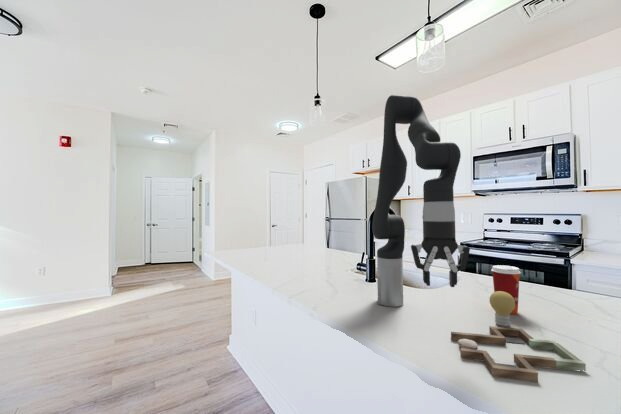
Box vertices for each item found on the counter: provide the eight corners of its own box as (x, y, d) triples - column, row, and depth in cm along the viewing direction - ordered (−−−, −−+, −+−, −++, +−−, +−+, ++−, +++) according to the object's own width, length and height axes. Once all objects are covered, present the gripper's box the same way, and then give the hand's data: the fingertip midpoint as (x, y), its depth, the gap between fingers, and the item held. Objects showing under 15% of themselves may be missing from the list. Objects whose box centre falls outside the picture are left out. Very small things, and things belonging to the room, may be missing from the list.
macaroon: (455, 348, 69) (454, 338, 69) (466, 343, 71) (466, 333, 71) (472, 356, 65) (472, 345, 65) (483, 350, 68) (483, 340, 68)
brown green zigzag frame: (470, 373, 58) (470, 365, 58) (445, 328, 80) (445, 322, 80) (609, 391, 52) (609, 381, 52) (541, 337, 74) (541, 330, 74)
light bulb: (517, 331, 78) (516, 296, 78) (490, 326, 81) (489, 292, 81) (514, 323, 83) (513, 290, 83) (489, 319, 86) (488, 287, 86)
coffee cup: (527, 316, 88) (526, 270, 88) (498, 315, 90) (497, 269, 90) (513, 307, 96) (512, 265, 96) (487, 306, 98) (486, 264, 98)
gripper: (410, 220, 68) (411, 288, 68) (474, 219, 65) (476, 291, 65) (407, 219, 76) (408, 280, 75) (465, 219, 72) (466, 283, 72)
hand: (439, 285), depth 70 cm, fingers open, 5 cm apart
